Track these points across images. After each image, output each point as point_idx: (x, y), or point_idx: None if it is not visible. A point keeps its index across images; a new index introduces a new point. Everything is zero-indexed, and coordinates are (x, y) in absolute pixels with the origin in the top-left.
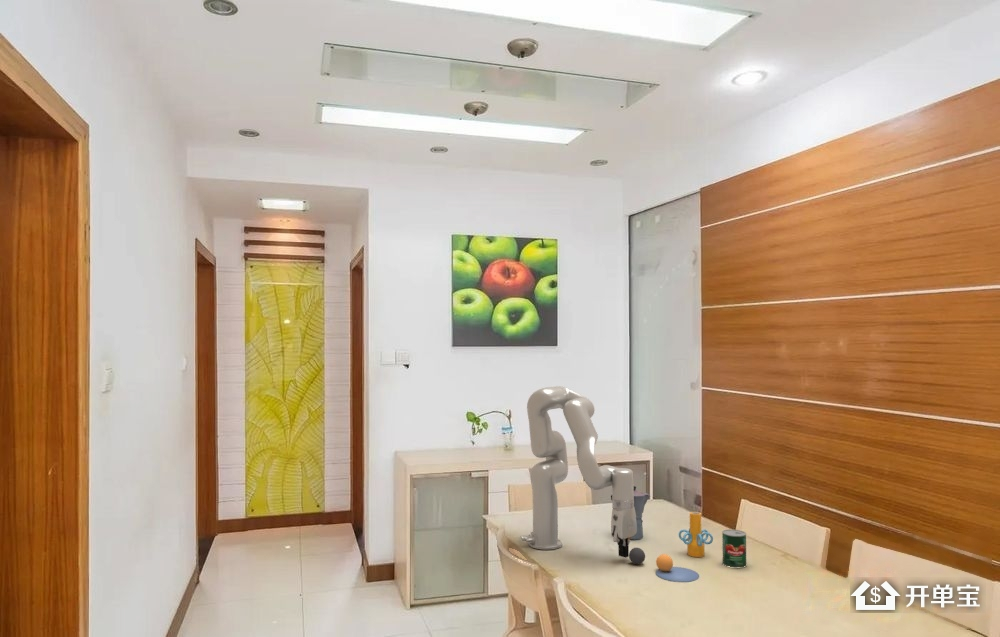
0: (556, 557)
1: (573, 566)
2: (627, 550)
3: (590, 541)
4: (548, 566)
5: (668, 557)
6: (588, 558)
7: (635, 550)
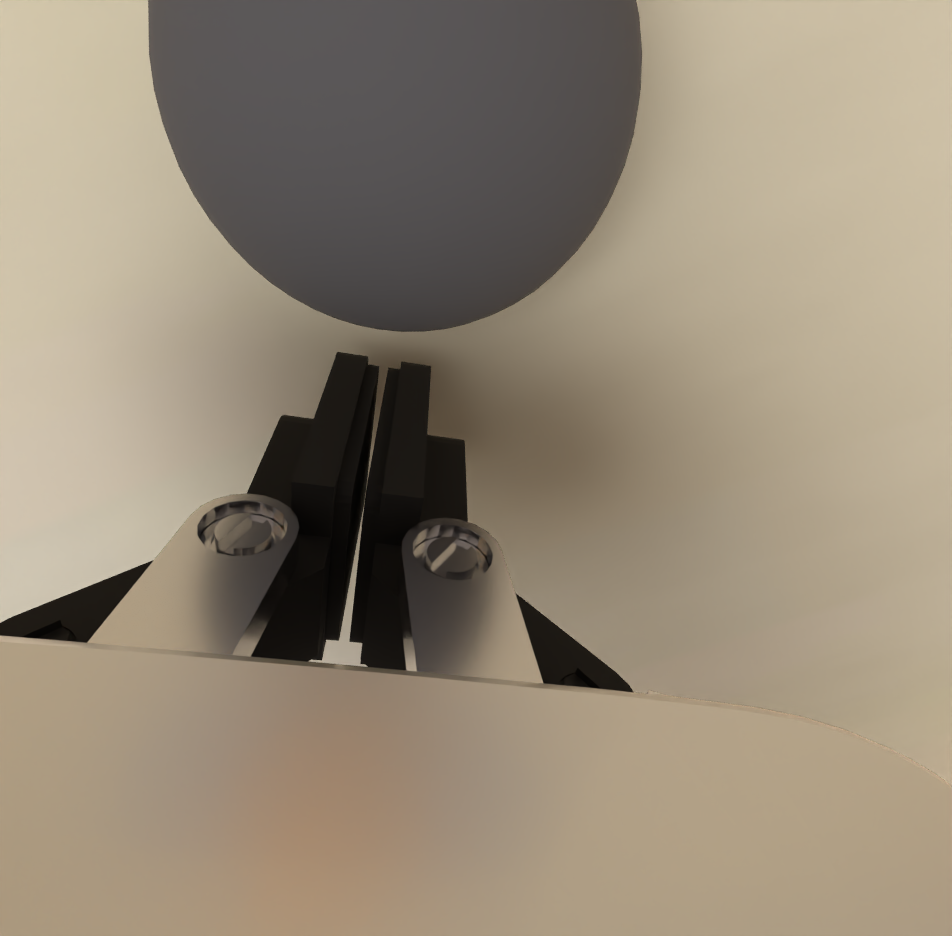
0: None
1: (883, 720)
2: (351, 423)
3: None
4: None
5: None
6: None
7: (558, 112)
